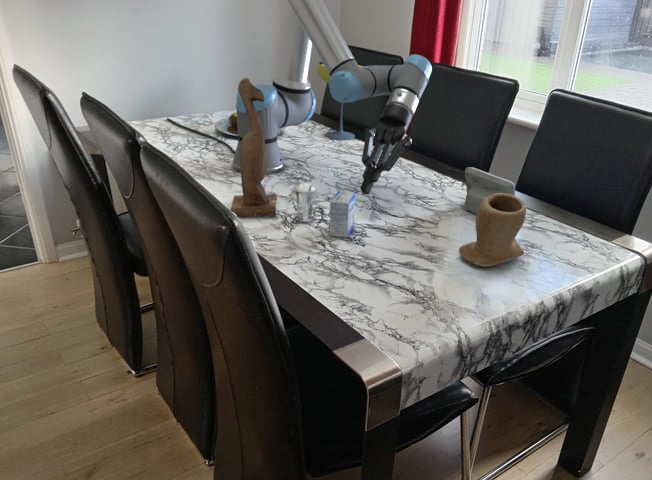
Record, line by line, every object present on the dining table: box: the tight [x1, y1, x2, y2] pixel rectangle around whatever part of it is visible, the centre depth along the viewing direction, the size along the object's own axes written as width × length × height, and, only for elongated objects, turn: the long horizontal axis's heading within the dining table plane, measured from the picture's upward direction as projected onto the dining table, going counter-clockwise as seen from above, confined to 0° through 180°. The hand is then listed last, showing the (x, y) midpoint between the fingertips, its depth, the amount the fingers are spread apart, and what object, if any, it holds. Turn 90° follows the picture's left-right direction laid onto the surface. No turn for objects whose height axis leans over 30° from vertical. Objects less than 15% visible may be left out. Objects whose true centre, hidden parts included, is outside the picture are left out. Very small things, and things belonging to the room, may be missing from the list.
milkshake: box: [295, 183, 316, 223], centre depth 140 cm, size 5×5×10 cm
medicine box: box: [329, 190, 356, 239], centre depth 136 cm, size 8×4×9 cm, turn 168°
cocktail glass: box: [317, 61, 369, 141], centre depth 208 cm, size 18×18×25 cm
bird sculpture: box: [230, 77, 278, 219], centre depth 139 cm, size 11×12×32 cm
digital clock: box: [463, 166, 516, 215], centre depth 152 cm, size 16×9×11 cm, turn 26°
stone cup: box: [458, 193, 527, 268], centre depth 125 cm, size 15×12×15 cm
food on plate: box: [214, 112, 286, 137], centre depth 211 cm, size 25×25×7 cm
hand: (364, 191), depth 143 cm, fingers closed
